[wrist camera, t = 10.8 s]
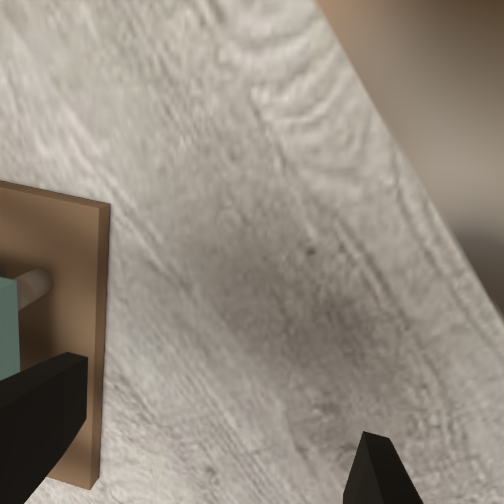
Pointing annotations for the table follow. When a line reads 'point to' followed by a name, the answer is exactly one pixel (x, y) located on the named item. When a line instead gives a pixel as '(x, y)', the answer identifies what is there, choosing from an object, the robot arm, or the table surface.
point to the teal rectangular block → (9, 329)
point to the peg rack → (60, 297)
